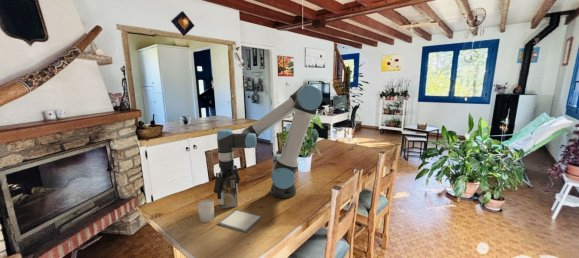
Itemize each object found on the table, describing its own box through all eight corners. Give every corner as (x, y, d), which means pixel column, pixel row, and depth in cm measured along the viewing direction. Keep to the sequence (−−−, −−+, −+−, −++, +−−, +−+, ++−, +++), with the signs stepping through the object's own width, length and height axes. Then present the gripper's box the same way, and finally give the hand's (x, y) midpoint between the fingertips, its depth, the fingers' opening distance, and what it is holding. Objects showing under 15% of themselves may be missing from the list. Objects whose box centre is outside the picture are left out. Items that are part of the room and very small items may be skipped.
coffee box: (237, 200, 135) (235, 173, 132) (238, 206, 129) (236, 177, 126) (219, 203, 133) (218, 175, 130) (219, 209, 127) (217, 179, 124)
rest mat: (236, 210, 126) (236, 209, 125) (263, 217, 119) (263, 216, 119) (217, 224, 113) (217, 223, 113) (246, 233, 106) (246, 231, 106)
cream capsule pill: (206, 213, 123) (205, 198, 121) (217, 216, 120) (216, 201, 118) (196, 220, 117) (194, 204, 115) (207, 224, 114) (206, 208, 112)
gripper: (234, 152, 138) (236, 189, 143) (203, 165, 117) (207, 207, 122) (245, 154, 135) (247, 191, 139) (216, 167, 114) (219, 211, 118)
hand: (228, 199), depth 130 cm, fingers open, 11 cm apart
